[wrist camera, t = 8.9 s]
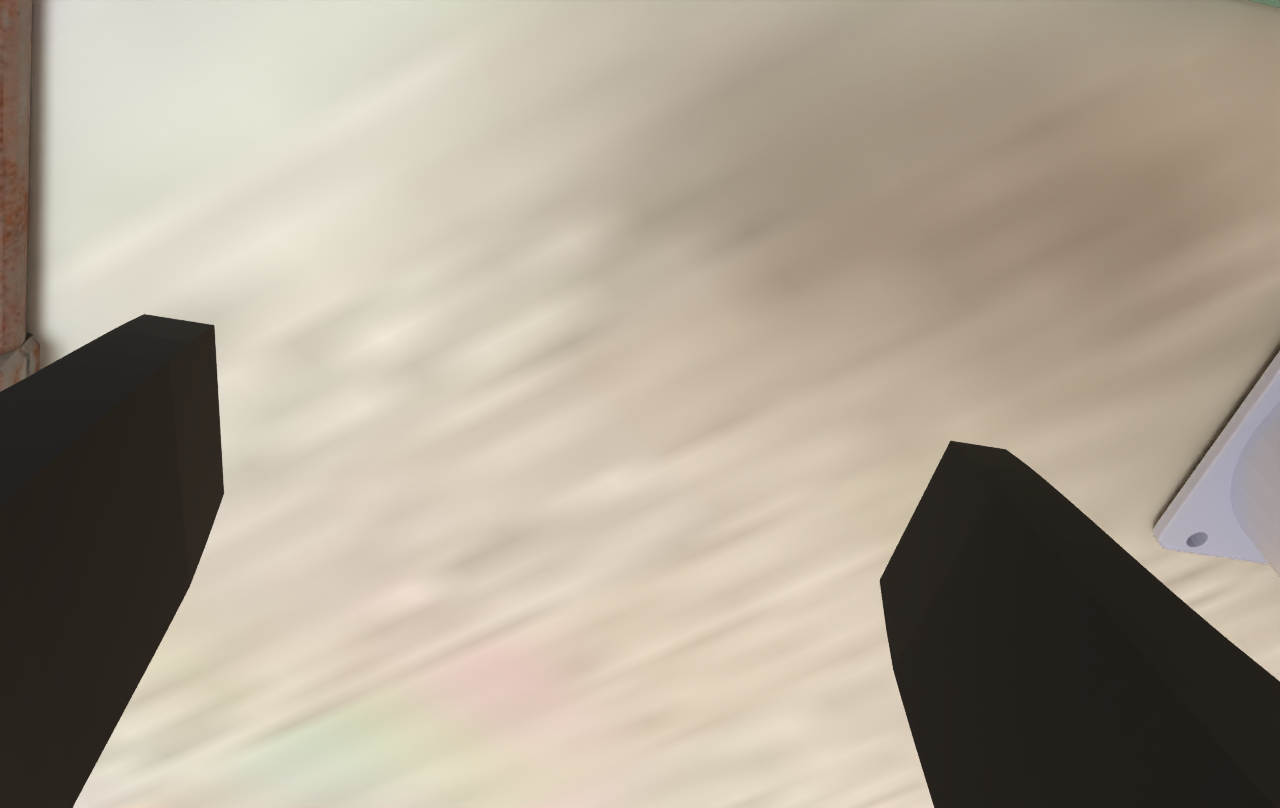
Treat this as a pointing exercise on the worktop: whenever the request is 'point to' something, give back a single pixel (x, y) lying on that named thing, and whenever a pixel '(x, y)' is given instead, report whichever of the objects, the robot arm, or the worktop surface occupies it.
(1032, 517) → the robot arm
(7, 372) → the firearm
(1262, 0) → the board
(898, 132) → the worktop surface
